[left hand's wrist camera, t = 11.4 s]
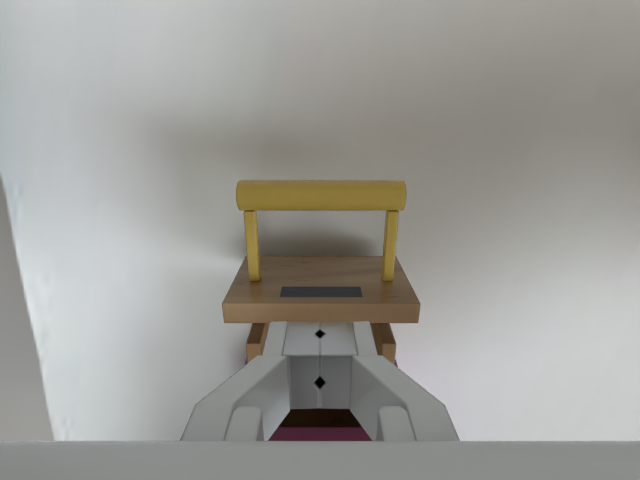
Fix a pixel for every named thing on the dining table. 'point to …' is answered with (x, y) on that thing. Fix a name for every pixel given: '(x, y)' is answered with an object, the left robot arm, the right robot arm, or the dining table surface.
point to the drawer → (321, 275)
